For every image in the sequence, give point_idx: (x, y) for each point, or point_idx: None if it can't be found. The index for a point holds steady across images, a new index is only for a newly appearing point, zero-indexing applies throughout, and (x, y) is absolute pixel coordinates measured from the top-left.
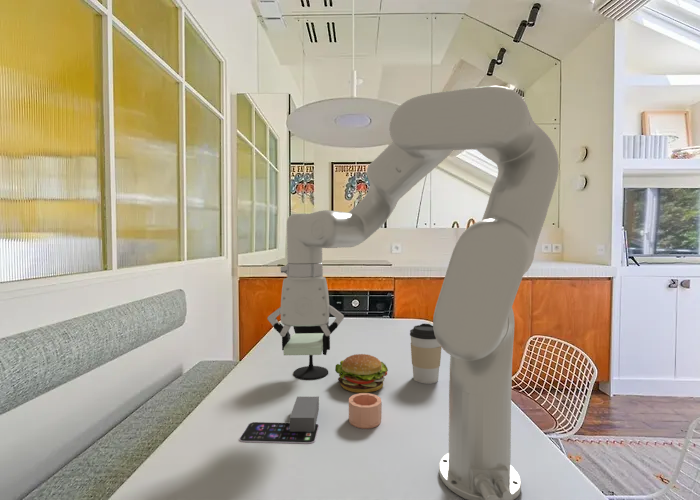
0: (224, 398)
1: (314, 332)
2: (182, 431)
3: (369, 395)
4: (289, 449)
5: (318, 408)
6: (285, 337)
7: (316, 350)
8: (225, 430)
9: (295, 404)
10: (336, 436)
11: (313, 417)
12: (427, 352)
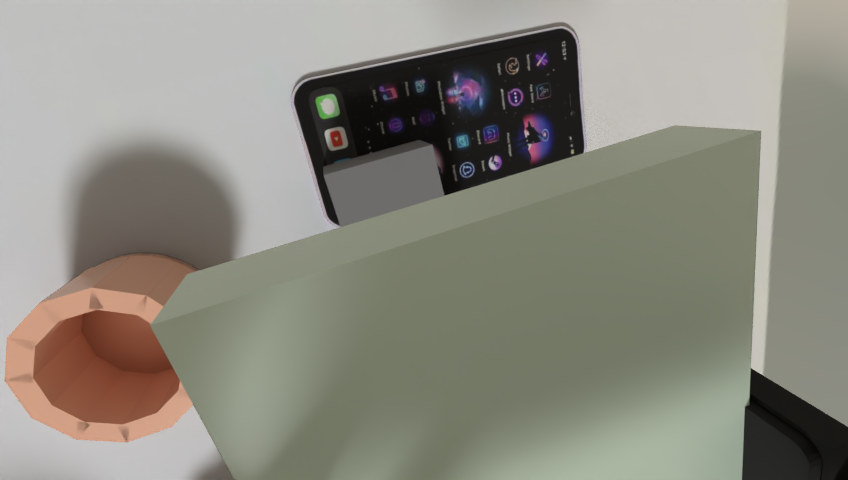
0: None
1: None
2: (774, 42)
3: (111, 422)
4: (366, 17)
5: None
6: (843, 435)
7: (250, 279)
8: (645, 88)
9: None
10: (218, 163)
11: (327, 176)
12: None
